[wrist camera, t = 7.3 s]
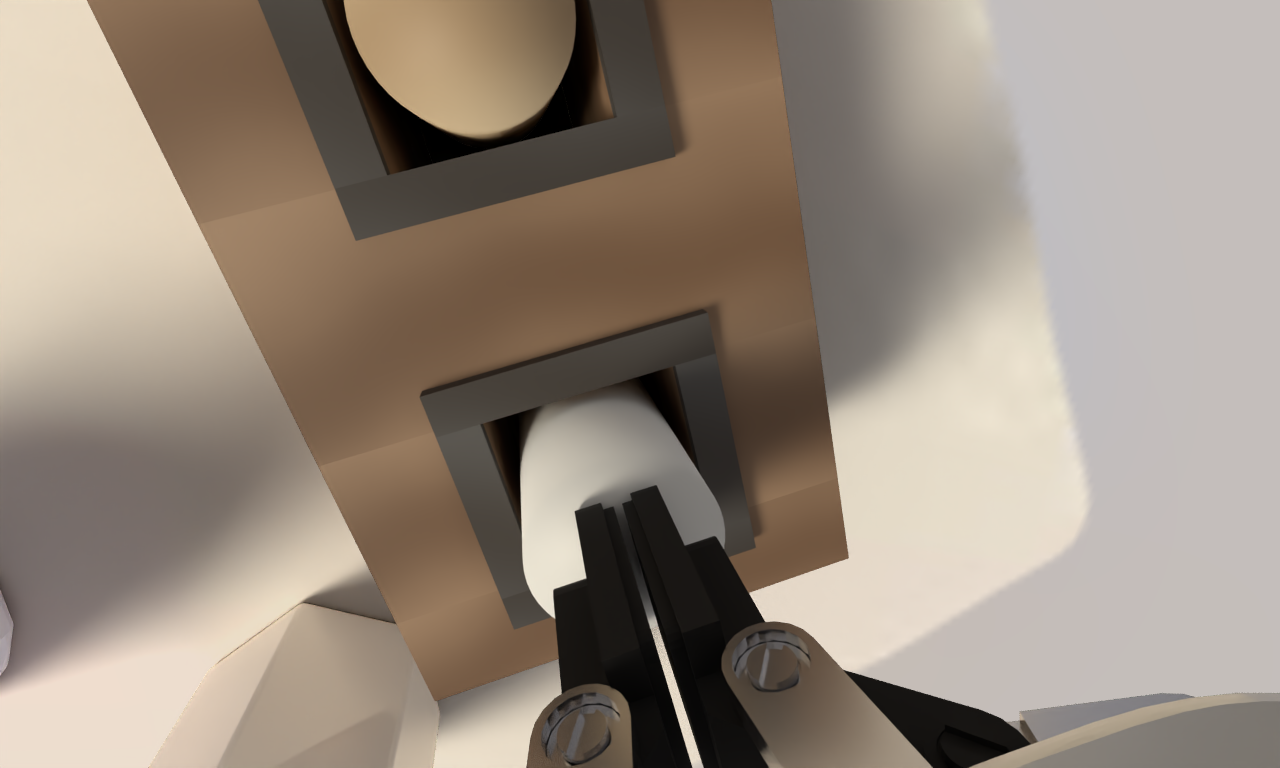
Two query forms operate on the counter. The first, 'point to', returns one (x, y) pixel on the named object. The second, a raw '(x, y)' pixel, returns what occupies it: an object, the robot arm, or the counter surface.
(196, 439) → the counter surface
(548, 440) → the white peg
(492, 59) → the oak peg
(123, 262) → the counter surface
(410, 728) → the jar
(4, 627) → the soap bottle
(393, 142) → the walnut block
